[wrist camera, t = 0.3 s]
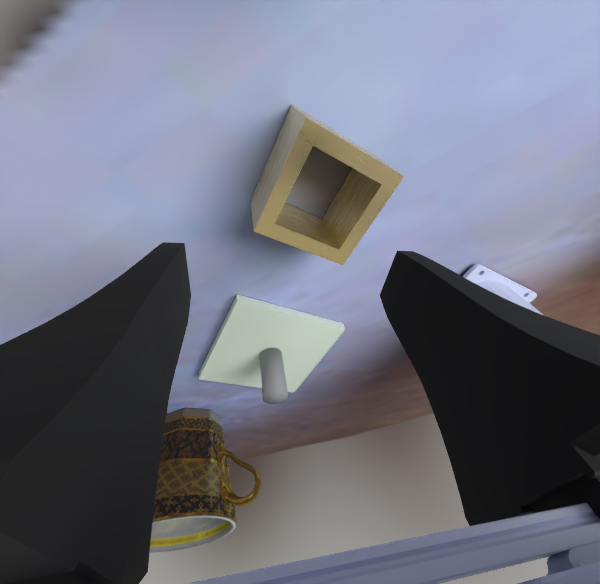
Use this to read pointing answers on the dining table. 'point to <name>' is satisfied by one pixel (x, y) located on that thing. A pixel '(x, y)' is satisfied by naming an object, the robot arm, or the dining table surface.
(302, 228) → the wooden square frame
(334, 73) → the dining table surface
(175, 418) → the ceramic cup
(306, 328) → the post plate
